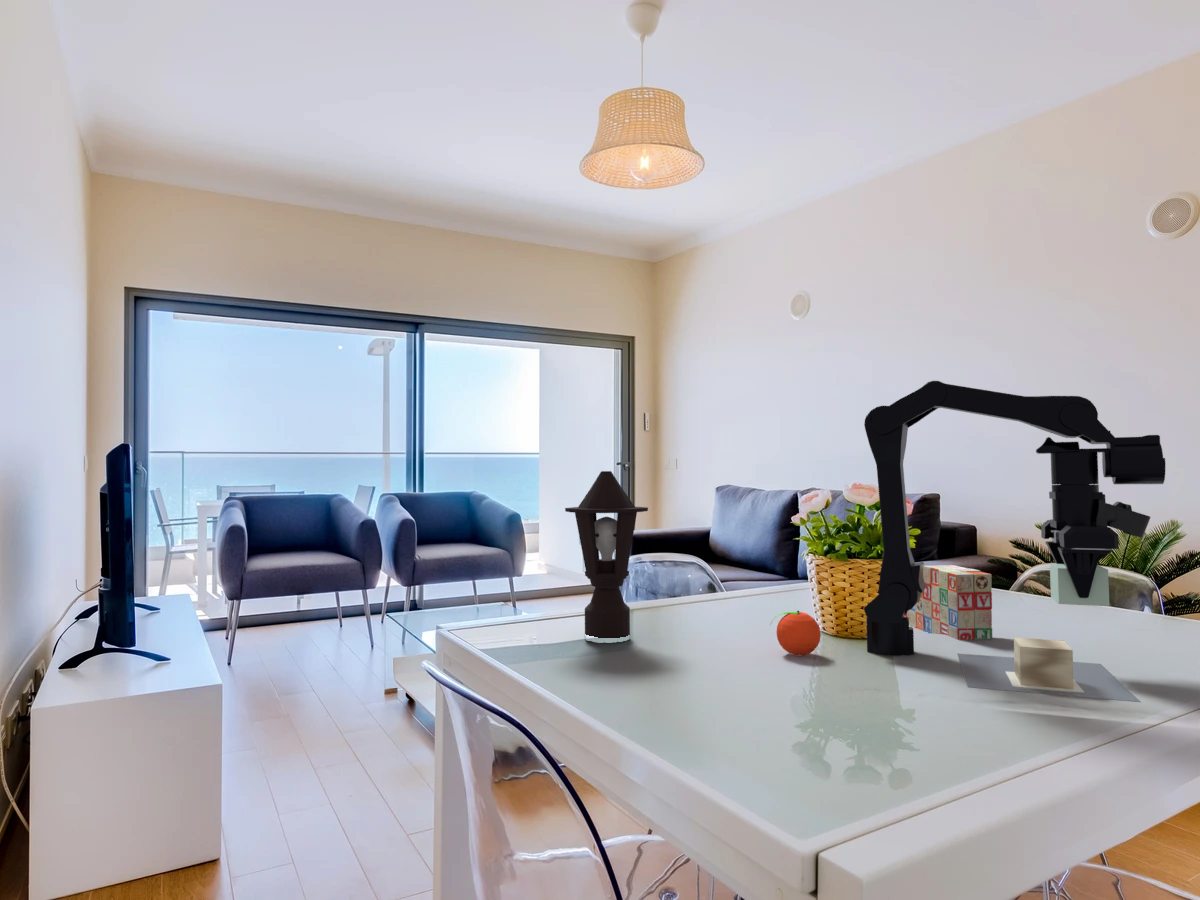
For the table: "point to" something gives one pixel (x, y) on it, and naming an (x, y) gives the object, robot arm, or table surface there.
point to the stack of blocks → (954, 603)
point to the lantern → (606, 554)
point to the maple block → (1043, 663)
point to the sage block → (1066, 591)
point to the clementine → (798, 633)
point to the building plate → (1001, 676)
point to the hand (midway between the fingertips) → (1078, 594)
